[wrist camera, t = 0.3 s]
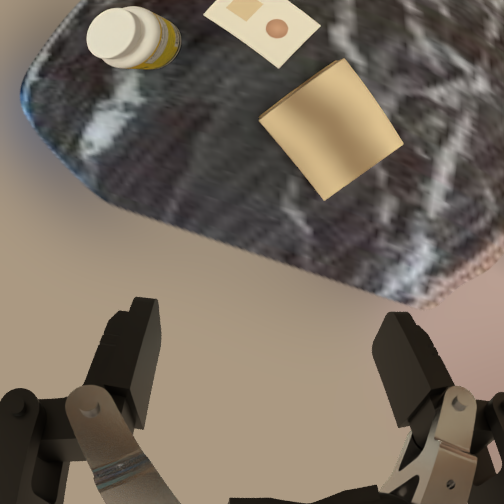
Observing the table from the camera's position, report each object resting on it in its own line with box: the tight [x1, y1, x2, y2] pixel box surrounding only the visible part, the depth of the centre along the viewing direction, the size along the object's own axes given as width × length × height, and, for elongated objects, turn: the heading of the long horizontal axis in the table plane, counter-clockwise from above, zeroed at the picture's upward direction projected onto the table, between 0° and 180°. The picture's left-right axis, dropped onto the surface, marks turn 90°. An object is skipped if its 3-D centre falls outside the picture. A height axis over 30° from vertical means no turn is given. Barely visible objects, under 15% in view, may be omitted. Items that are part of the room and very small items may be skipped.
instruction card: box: [203, 0, 320, 69], centre depth 23 cm, size 6×9×1 cm, turn 50°
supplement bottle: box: [87, 6, 181, 70], centre depth 20 cm, size 5×5×10 cm
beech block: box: [259, 59, 403, 201], centre depth 26 cm, size 9×9×4 cm
